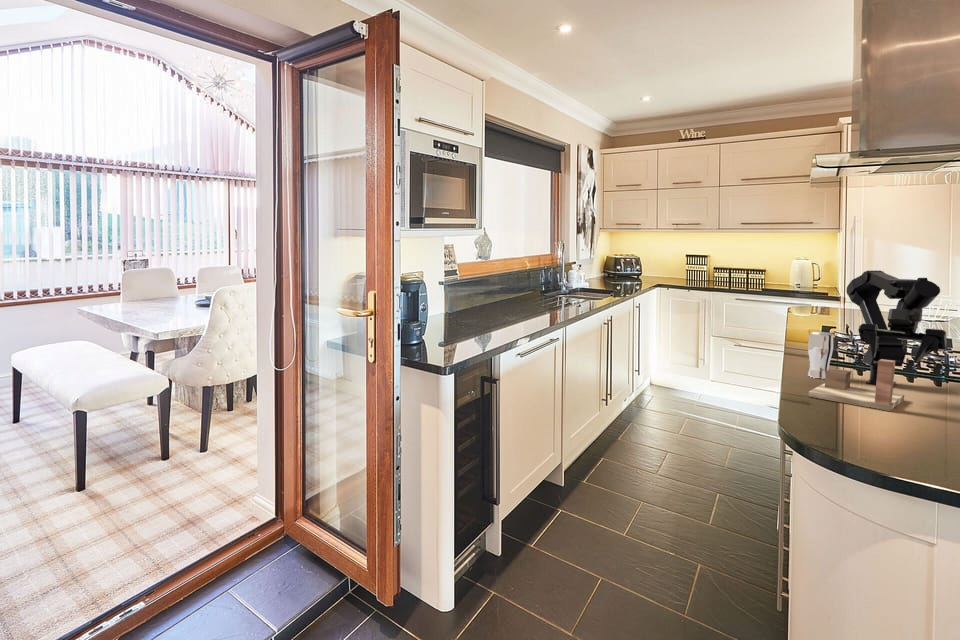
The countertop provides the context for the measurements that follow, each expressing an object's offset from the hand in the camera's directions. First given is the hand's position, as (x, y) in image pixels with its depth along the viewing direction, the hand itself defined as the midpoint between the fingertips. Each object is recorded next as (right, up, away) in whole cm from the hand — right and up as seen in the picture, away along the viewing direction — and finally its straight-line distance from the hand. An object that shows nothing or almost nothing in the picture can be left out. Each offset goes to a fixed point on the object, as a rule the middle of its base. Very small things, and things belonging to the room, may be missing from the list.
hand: (893, 359), depth 138 cm
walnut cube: (-7, -9, +13) cm, 17 cm away
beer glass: (0, -9, +31) cm, 32 cm away
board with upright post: (-5, -12, +7) cm, 14 cm away
